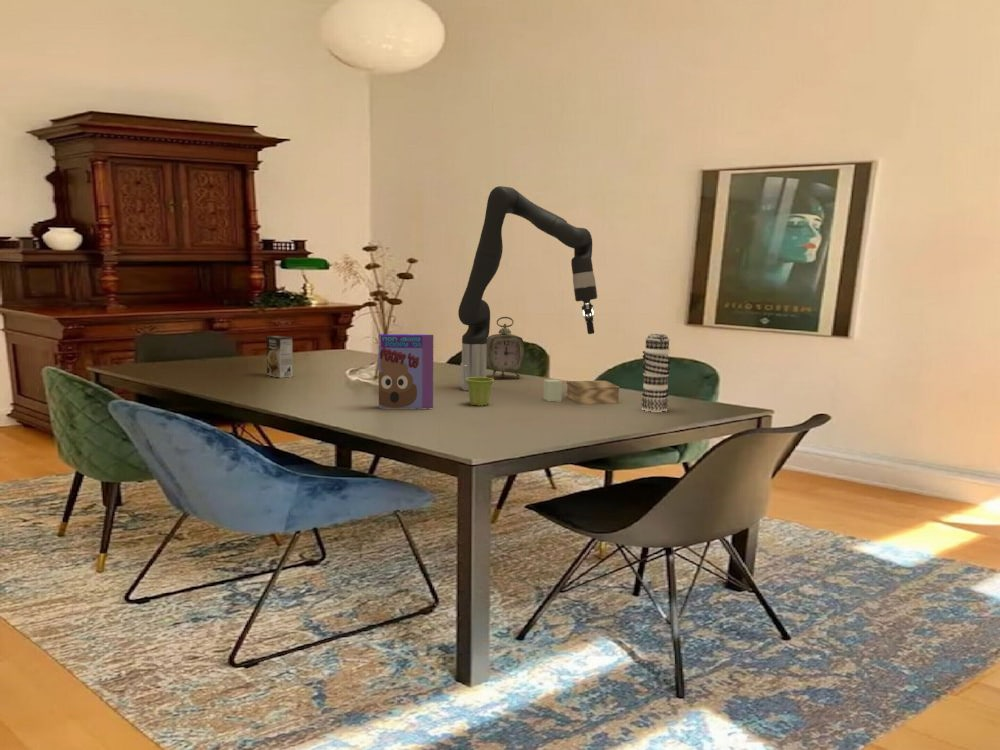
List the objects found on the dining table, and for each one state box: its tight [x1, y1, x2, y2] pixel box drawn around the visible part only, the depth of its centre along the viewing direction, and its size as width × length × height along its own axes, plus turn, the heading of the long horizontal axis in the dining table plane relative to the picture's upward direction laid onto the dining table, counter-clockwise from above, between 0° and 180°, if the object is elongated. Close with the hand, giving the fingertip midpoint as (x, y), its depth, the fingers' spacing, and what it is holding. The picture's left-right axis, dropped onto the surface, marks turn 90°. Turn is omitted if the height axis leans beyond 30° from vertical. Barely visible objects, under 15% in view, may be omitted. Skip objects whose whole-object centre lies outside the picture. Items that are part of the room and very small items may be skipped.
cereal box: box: [378, 333, 434, 410], centre depth 277 cm, size 17×5×24 cm, turn 94°
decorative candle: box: [641, 333, 672, 413], centre depth 281 cm, size 9×9×25 cm
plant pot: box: [466, 376, 495, 407], centre depth 287 cm, size 9×9×9 cm
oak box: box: [566, 380, 621, 405], centre depth 299 cm, size 14×14×6 cm
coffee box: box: [265, 335, 294, 378], centre depth 340 cm, size 9×6×16 cm
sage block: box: [542, 379, 563, 402], centre depth 297 cm, size 5×5×7 cm
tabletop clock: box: [487, 316, 526, 380], centre depth 345 cm, size 14×9×25 cm, turn 103°
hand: (591, 333), depth 292 cm, fingers open, 8 cm apart
